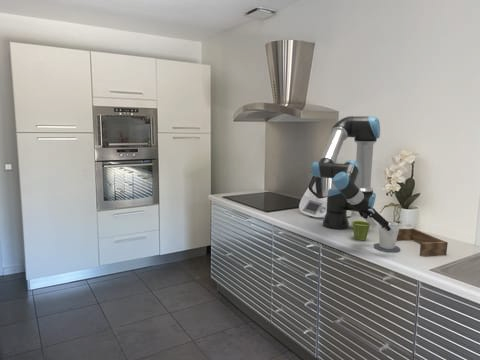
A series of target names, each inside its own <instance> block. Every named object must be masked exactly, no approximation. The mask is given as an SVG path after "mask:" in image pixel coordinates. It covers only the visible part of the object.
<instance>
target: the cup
mask: <svg viewBox="0 0 480 360" xmlns="http://www.w3.org/2000/svg"><path fill="white" fill-rule="evenodd" d="M386 221H387V222H389V224H388V225H389V226H390V227H391V229H392V230H393V231H394V232H395V233H394V234H393V235H392V236H391V237H390V236H389V235H388V234H387V232H386V231H385V230H384V229H383V228H382V226H381V225H380V224H379V223H378V239H379V244H380V247H382V248H385V249H394V247H395V246H396V242H397V241H396V239H397V235H398V231H399V229H400V227H399V226H400V225H399V223H398V222H395V221H391V220H386Z"/></svg>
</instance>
